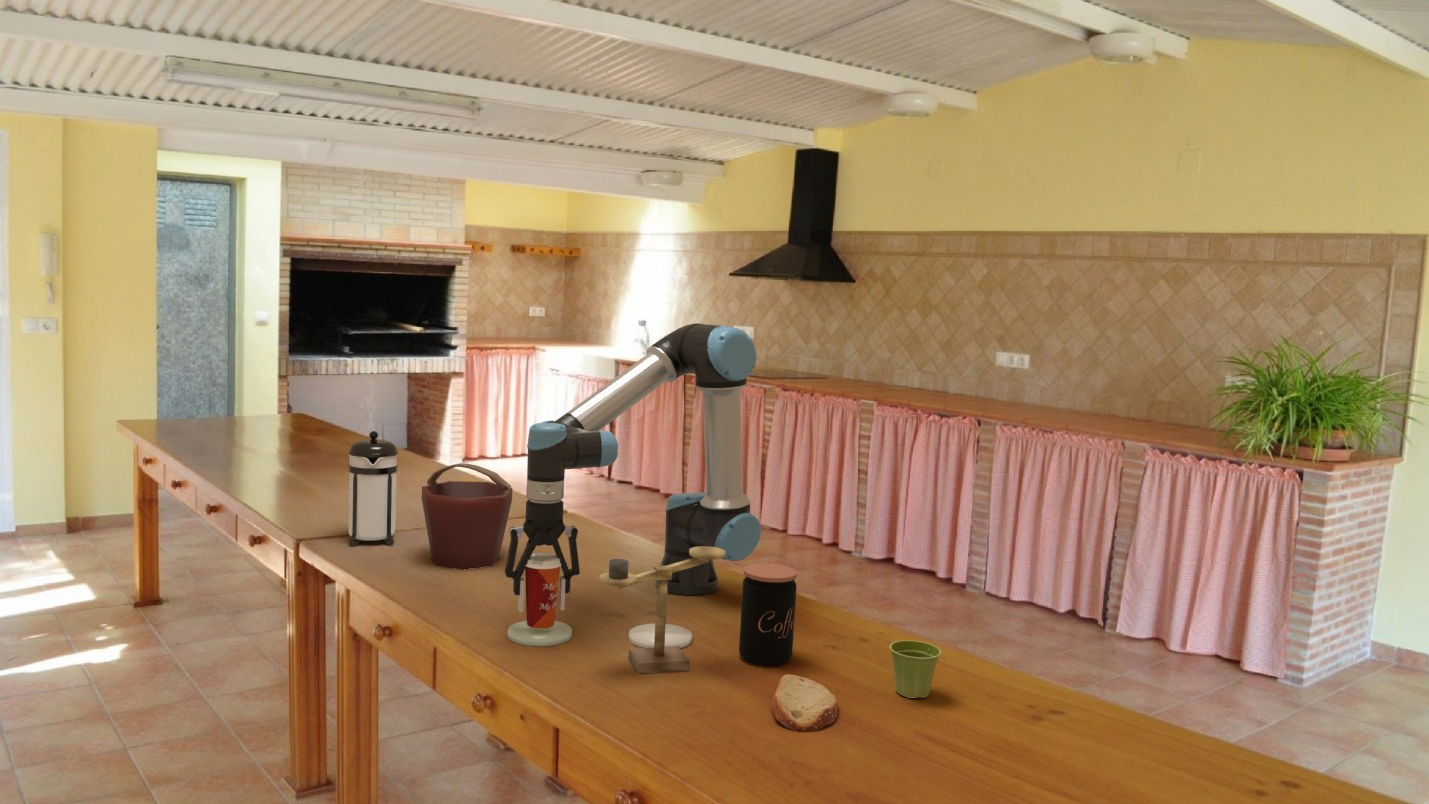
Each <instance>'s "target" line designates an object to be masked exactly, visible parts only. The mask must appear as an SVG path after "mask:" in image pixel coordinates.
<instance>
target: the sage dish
mask: <svg viewBox="0 0 1429 804" xmlns="http://www.w3.org/2000/svg"><path fill="white" fill-rule="evenodd" d="M572 634H573V629H572V627H571V626H570V625H569V624H567V623H564V622H561V621H559V620H555V621H554V625H553V626H552V627H549V628H532V627H529V626H528V625H527V620H523V621H519V622H516V623H513V624H511V625H510V626H509V627H508V629H507V638H508V639H509V641H511V642H513V643H516V644H519V645H522V646H528V647H550V646H552V647H553V646H557V644H558V645H561V644H564V643H566V642H568V641H570V640H571V638H572Z"/></svg>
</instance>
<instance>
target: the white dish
mask: <svg viewBox="0 0 1429 804" xmlns="http://www.w3.org/2000/svg"><path fill="white" fill-rule="evenodd" d="M692 638H693V634H692V632H691V631H690V630H689V629H687V628H685V627H683V626H680V625H675V624H672V623H671V624H669V623H666V627H665V646H664V647H672V646H679V648H680V649H683V648H686V647H687V646H689V645H690V644H692ZM654 639H655V623H645V624H640V625H636V626H634V627H632V628H631V629H630V630H629V631H628V641H629V642H630V643H631V644H632V645H634V646H636V647H638V648H654Z"/></svg>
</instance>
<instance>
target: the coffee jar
mask: <svg viewBox="0 0 1429 804" xmlns="http://www.w3.org/2000/svg"><path fill="white" fill-rule="evenodd" d="M743 574H744V576H745V578H744V579H743V580H742V588H741V589H742V591H741V593H742V594H741V595H742V596H741V608H740V609H741V610H740V628H739V642H738V643H739V645H738V651H739V652H738V653H739V655H740V657H741V659H742V660H743V659H744V660H743V661H744V662H746V661H747V662H746V663H748V664H750V663H751V665H753V664H755V665H754V666H757V665H761V666H760V667H765V666H769V668H771V666H774V667H780V665H781V666H784V665H786V664H787V663H788V662H789V661H790V660H791V658H792V656H793V650H794V649H793V646H794V645H793V644H794V630H795V616H796V615H795V614H796V602H797V583H796V581H795V580H796V579H797V577H798V572H797V570H796V569H794V568H793V567H790V566H786V565H783V564H776V563H764V562H763V563H753V564H749V565H746V566H745V567H744V568H743ZM785 663H786V664H785ZM783 664H784V665H783Z"/></svg>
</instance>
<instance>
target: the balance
mask: <svg viewBox="0 0 1429 804" xmlns="http://www.w3.org/2000/svg"><path fill="white" fill-rule="evenodd" d="M725 552H726V551H725V550H723V549H721V548H717V547H710V546H698V547H693V548H690V550H689V555H690V556H692V557H694V558H691V559H687V560H684V561H681V562H677V563H674V564H671V565H667V566H660V565H653V566H654V567H653V569H652V570H646V571H644V572H641V573H638V574H633V573H632V572H631V573H630V572H629V563H630V562H629V560H627V559H623V558H612V559H610V560H609V562H608V572H604V573H602V574H600V575H599V583H600V584H603V585H606V586H610V587H611V586H612V587H618V589H620V590H621V589H623V588H627V587H631V586H633V585H637V584H641V583H644V582H648V581H650V580H654V579H655V580H656V579H657V587H656V601H655V603H656V604H655V623H654V624H655V639H654V648H642V647H638V648H628V661H629V662H630V663H631V665H632V667H633V668H634V669H635V671H636V673H637V674H638V675H639V674H640V673H643V674H656V673H670V672H671V673H672V672H689V671H690V659H689V658H688V657H687V655H686V654H685V653H684V651H683V650H682V648H679V646H672V647H664V646H665V627H666V624H667V623H666V622H667V607H668V605H667V604H668V601H667V600H668V592H667V587H668V580H672V573H674V572H678V571H681V570H684V569H688V568H691V567H694V566H698V565H701V564H704V563H708V562H709V560H713V561H714V560H720V559H721V558H724V557H725ZM721 560H722V559H721ZM640 675H641V674H640Z"/></svg>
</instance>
